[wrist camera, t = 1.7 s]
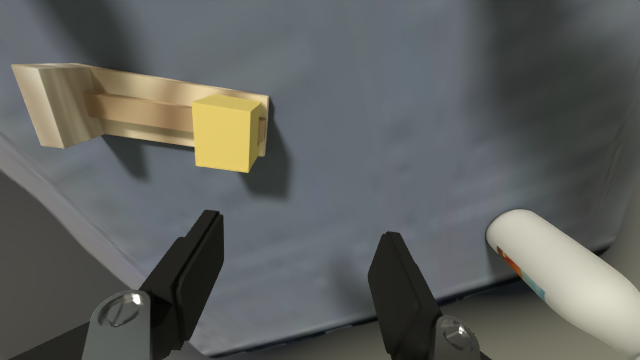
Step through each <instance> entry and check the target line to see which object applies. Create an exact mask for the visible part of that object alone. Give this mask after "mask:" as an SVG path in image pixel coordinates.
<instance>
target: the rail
mask: <svg viewBox="0 0 640 360" xmlns="http://www.w3.org/2000/svg"><path fill="white" fill-rule="evenodd" d="M11 66H12V69H13V72H14V74H15V77H16V80H17V82H18V85H19V88H20V90H21V93H22V96H23V98H24V101H25V104H26V106H27V109H28V111H29V114H30V117H31V119H32V122H33V125H34V127H35V130H36V133H37V135H38V138H39V141H40V143H41V145H42V146H50V147H57V148H67V147H70V146H73V145H76V144H78V143H81V142H84V141H87V140H90V139H92V138H95V137H98V136H101V135H104V134H109V135H116V136H123V137H130V138H137V139H144V140H151V141H158V142H165V143H172V144H179V145H185V146H192V147H195V145H194V131H193V117H192V103H191V102H193V101H196V100H199V99H202V98H205V97H208V96H210V95H213V94H218V95H224V96H230V97H236V98H242V99H248V100H254V101H260V102H262V115H261V116H260V117H259V125H258V142H260V152H259V155H258V156H262V157H264V155H265V153H266V140H267V125H268V111H269V96H267V95H261V94H255V93H249V92H243V91H237V90H231V89H225V88H220V87H214V86H208V85H202V84H196V83H190V82H184V81H178V80H173V79H167V78H161V77H155V76H149V75H143V74H137V73H131V72H126V71H120V70H114V69H108V68H102V67H96V66H90V65H85V64H79V63H69V64H11Z"/></svg>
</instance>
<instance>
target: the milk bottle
mask: <svg viewBox="0 0 640 360" xmlns="http://www.w3.org/2000/svg"><path fill="white" fill-rule="evenodd" d="M486 238H487V241H488V243H489V245H490V246H491V247H492V248H493V249H494V250H495V251H496V252H497V253H498V254H499V255H500V256H501V257H502V258H503V260H504V261H505V262H506V263H507V264H508V265H509V266H510V267H511V268H512V269H513V270H514V271H515V272H516V273H517V274H518V275H519V276H520V277H521V278H522V279H523V280H524V281H525V282H526V283H527V284H528V285H529V286H530V287H531V288H532V289H533V290H534V291H535V292H536V294H537V295H538V296H539V297H540V298H542V299H543V300H544V301H545V302H546V303H547V304H548V305H549V306H550V307H551V308H552V309H553V310H554V311H555V312H556V313H558V314H559V315H560V316H561V317H563V318H564V319H565V320H567V321H568V322H570V323H571V324H573V325H574V326H576V327H578V328H579V329H581V330H583V331H585V332H587V333H588V334H590V335H592V336H594V337H596V338H598V339H599V340H601V341H603V342H604V343H606V344H607V345H609V346H610V347H612V348H613V349H615V350H616V351H618V352H619V353H620V354H622V355H623V356H624V357H626V358H627V359H628V360H640V292H639V291H638V290H637V289H636V288H635V286H634V285H632V283H630V281H628V279H626V278H625V277H624V276H623V275H622V274H621V273H619V272H618V271H617V270H615V269H614V268H613V267H611V266H610V265H609V264H607V263H606V262H604V261H603V260H602V259H600V258H599V257H598V256H596V255H595V254H593V253H592V252H591V251H589V250H588V249H586V248H585V247H583V246H582V245H581V244H579V243H578V242H576V241H575V240H573V239H572V238H570V237H569V236H568V235H566V234H565V233H563V232H562V231H560V230H559V229H557V228H556V227H554V226H553V225H552V224H550V223H549V222H547V221H546V220H544V219H543V218H541V217H540V216H538V215H537V214H535V213H533V212H532V211H529V210H524V209H516V210H511V211H508V212H506V213H503V214H502V215H500V216H498V217H497V218H496V219H494V221H493V222H492V223H491V224H490V225H489V227H488V229H487V232H486Z"/></svg>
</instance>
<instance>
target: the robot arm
mask: <svg viewBox="0 0 640 360" xmlns="http://www.w3.org/2000/svg"><path fill="white" fill-rule="evenodd" d="M223 262H224V226H223V215H220V214H219V211H213V210H204V212H203V213H202V214H201V216H200V217H199V219H198V220H197V221H196V223H195V224H194V226H193V227H192V228H191V230H190V231H189V232H188V234H187V235H186V237H179V238H178V239H177V240H176V241H175V242H174V243H173V245H172V246H171V247H170V249H169V250H168V251H167V253H166V254H165V255H164V257H163V258H162V259H161V261H160V262H159V263H158V265H157V266H156V267H155V268H154V270H153V271H152V272H151V274H150V275H149V276H148V278H147V279H146V280H145V282H144V283H143V284H142V286H141V287H140V288H139V290H127V291H123V292H120V293H117V294H115V295H113V296H111V297H110V298H108V299H106V300H105V301H104V302H103V303H102V304H100V305H99V306H98V307H97V309H96V310H95V311H94V313H93V315H92V317H91V320H90V321H89V322H87V323H85V324H83V325H81V326H79V327H77V328H74V329H72V330H70V331H68V332H66V333H64V334H62V335H60V336H58V337H55V338H54V339H52V340H49V341H47V342H45V343H43V344H41V345H39V346H37V347H34V348H32V349H30V350H28V351H26V352H24V353H22V354H20V355H17V356H15V357H13V358H11V359H9V360H163V359H164V358H166V357H167V356H169V354H170V352H171V350H181V348H182V345H183V343H184V341H189V340H190V338H191V336H192V334H193V332H194V329H195V327H196V325H197V323H198V320H199V318H200V316H201V313H202V311H203V309H204V307H205V304H206V302H207V300H208V297H209V295H210V293H211V291H212V288H213V286H214V284H215V281H216V279H217V277H218V275H219V272H220V270H221V268H222V265H223ZM368 282H369V286H370V290H371V294H372V297H373V301H374V305H375V309H376V313H377V317H378V321H379V325H380V329H381V333H382V336H383V341H384V344H385V348H386V351H387V353H388V354H390V355H391V358H392V360H491V359H490V358H489V357H487V356H486V355H484V354H483V353H482V352H481V351H480V347H479V343H478V340H477V338H476V336H475V335H474V333H473V332H472V331H471V330H470V328H469V327H467V326H466V325H465V324H464V323H463V322H461V321H460V320H458V319H456V318H454V317H451V316H443V315H442V312H441V310H440V309H439V307H438V305H437V303H436V301H435V299H434V297H433V295H432V293H431V291H430V289H429V287H428V285H427V283H426V281H425V279H424V277H423V275H422V273H421V271H420V269H419V268H418V266H417V264H416V263H415V262H414V260H413V258H412V256H411V254H410V252H409V250H408V248H407V246H406V244H405V242H404V240H403V238H402V236H401V235H400V233H397V232H389V231H388V232H386V234H383V235H382V236H381V239H380V242H379V245H378V247H377V250H376V253H375V256H374V258H373V261H372V264H371V266H370V269H369V272H368Z"/></svg>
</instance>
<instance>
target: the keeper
mask: <svg viewBox="0 0 640 360" xmlns="http://www.w3.org/2000/svg"><path fill="white" fill-rule="evenodd" d="M191 103H192V117H193V131H194V145H195V158H196V166H203V167H210V168H217V169H225V170H232V171H239V172H247V173H248V172H249V171H250V169H251V167H252V165H253V164H254V162H255V160H256V158H257V157H258V155H259V152H260V142H258V125H259V117H260V116H261V115H262V102H260V101H254V100H248V99H242V98H236V97H230V96H224V95H218V94H213V95H210V96H208V97H205V98H202V99H199V100H196V101H193V102H191Z"/></svg>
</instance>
